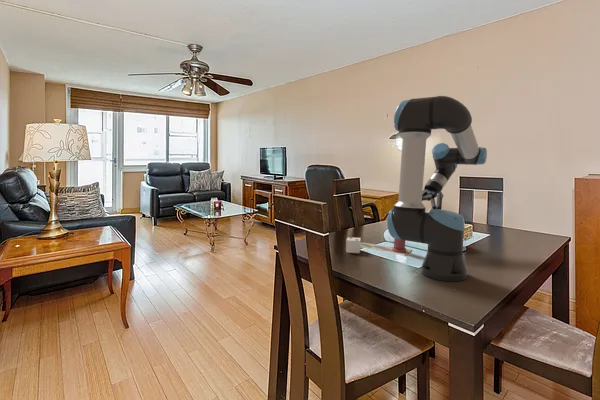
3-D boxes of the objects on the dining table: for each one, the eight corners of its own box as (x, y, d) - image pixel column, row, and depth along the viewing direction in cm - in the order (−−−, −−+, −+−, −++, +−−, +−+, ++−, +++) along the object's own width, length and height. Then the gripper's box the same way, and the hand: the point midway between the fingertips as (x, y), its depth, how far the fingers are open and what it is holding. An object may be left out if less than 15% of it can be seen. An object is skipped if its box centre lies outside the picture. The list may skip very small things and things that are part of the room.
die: (359, 254, 146) (359, 240, 145) (346, 253, 147) (346, 239, 146) (360, 250, 151) (360, 237, 151) (347, 249, 153) (347, 236, 152)
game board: (405, 255, 143) (405, 254, 143) (353, 247, 157) (353, 246, 157) (411, 250, 151) (411, 250, 150) (361, 243, 165) (361, 242, 165)
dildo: (403, 253, 145) (405, 225, 143) (390, 250, 149) (391, 223, 147) (407, 250, 150) (409, 222, 148) (395, 247, 153) (396, 221, 152)
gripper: (462, 192, 149) (439, 228, 143) (417, 188, 170) (396, 219, 164) (455, 181, 145) (432, 217, 140) (411, 178, 167) (388, 209, 161)
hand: (412, 218), depth 152 cm, fingers open, 13 cm apart
